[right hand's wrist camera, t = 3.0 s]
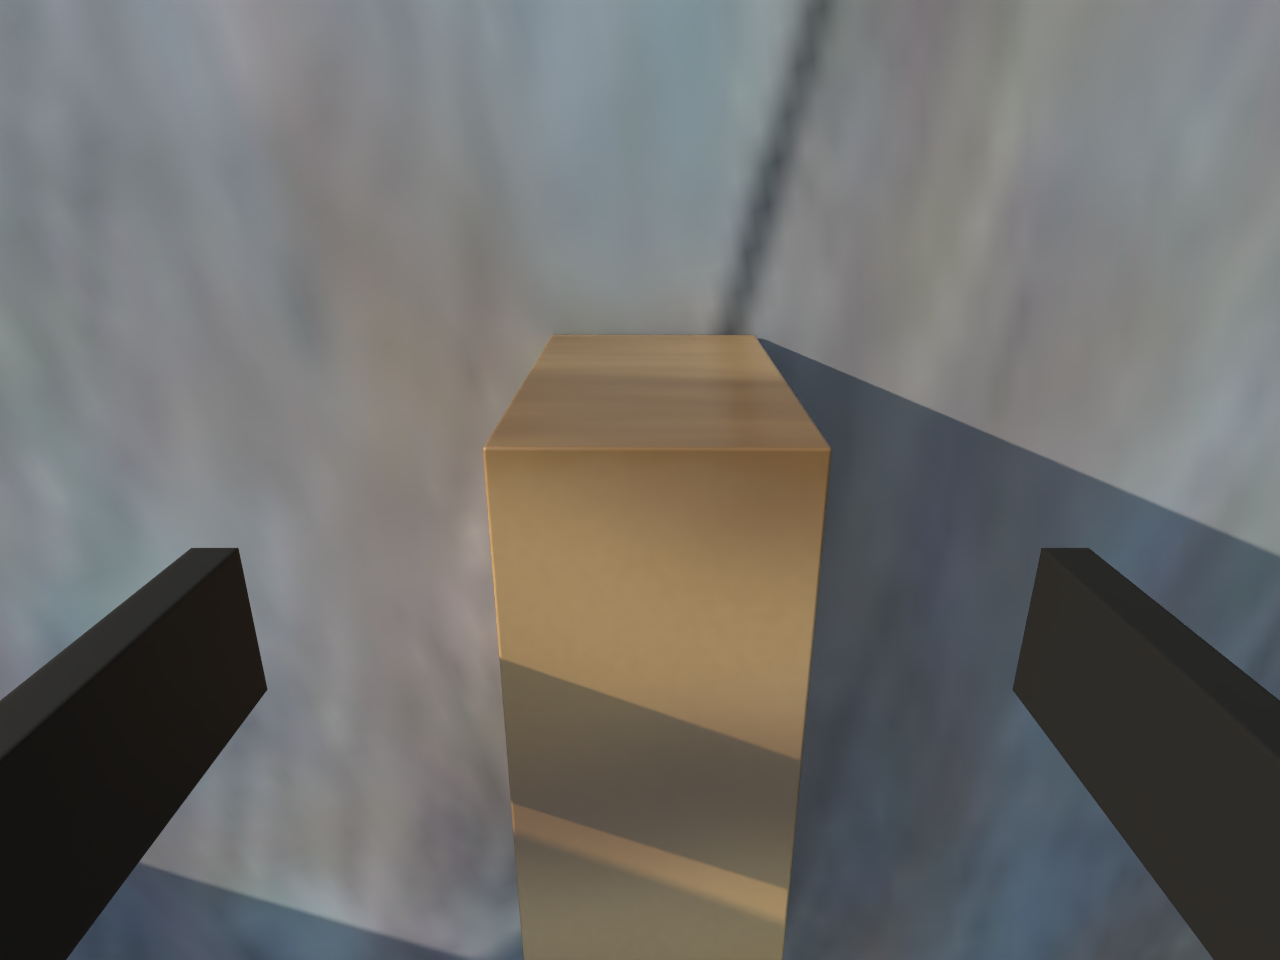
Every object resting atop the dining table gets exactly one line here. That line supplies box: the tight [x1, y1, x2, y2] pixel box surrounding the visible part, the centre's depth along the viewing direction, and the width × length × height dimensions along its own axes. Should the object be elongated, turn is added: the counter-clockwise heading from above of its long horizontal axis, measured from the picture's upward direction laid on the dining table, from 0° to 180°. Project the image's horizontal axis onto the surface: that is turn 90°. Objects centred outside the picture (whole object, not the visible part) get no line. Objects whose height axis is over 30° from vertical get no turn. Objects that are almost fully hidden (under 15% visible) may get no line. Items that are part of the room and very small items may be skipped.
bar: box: [483, 335, 832, 960], centre depth 19 cm, size 23×5×8 cm, turn 0°
